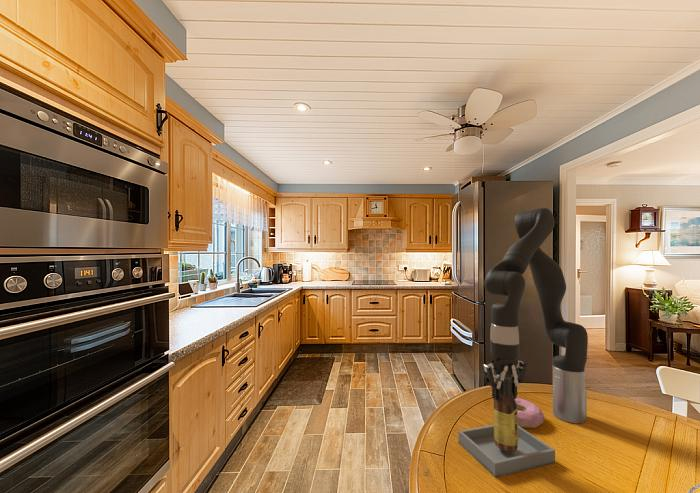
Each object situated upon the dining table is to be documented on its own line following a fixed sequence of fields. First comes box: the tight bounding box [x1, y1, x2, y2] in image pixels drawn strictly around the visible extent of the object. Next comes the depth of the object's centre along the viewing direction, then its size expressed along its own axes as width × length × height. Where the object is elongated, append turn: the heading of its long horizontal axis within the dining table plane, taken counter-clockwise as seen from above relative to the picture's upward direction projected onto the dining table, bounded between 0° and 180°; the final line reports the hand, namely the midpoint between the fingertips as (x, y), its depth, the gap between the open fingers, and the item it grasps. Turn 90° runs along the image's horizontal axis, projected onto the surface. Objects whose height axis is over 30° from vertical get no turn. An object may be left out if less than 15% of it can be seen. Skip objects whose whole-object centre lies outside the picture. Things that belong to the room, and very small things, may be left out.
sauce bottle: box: [492, 374, 518, 452], centre depth 89 cm, size 6×6×20 cm
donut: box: [515, 397, 545, 429], centre depth 108 cm, size 16×15×5 cm
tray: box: [458, 424, 556, 478], centre depth 89 cm, size 20×15×4 cm
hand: (504, 398), depth 89 cm, fingers closed on sauce bottle, 5 cm apart
